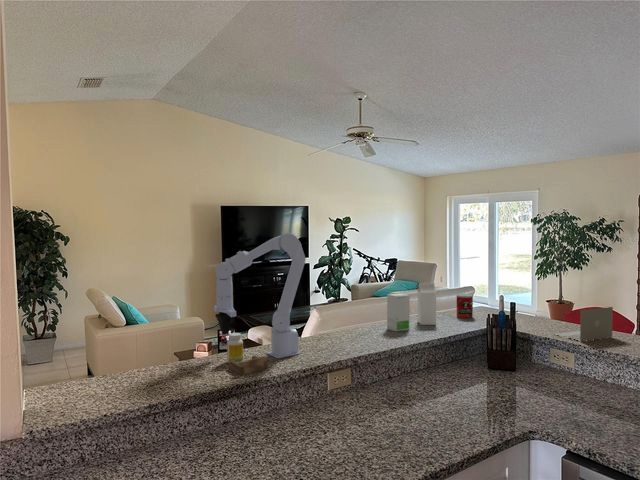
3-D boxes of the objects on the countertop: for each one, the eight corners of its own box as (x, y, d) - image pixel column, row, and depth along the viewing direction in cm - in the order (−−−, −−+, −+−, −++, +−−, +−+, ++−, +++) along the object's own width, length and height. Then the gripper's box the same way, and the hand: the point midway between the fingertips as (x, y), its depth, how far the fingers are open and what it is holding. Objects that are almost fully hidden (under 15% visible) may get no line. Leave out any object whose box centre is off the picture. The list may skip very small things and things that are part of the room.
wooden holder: (255, 363, 153) (254, 351, 153) (267, 369, 147) (266, 357, 147) (229, 368, 148) (229, 356, 148) (240, 375, 141) (240, 362, 141)
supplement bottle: (224, 361, 155) (224, 333, 155) (238, 358, 159) (238, 331, 158) (232, 365, 151) (231, 336, 151) (246, 361, 155) (245, 334, 154)
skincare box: (395, 332, 195) (395, 296, 194) (385, 329, 201) (385, 294, 200) (410, 329, 199) (410, 294, 198) (400, 326, 205) (400, 292, 204)
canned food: (457, 318, 221) (457, 296, 221) (455, 315, 229) (455, 293, 229) (473, 318, 220) (474, 296, 220) (471, 315, 228) (471, 293, 228)
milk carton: (436, 325, 207) (436, 284, 207) (420, 325, 208) (420, 284, 207) (432, 321, 215) (432, 281, 214) (417, 321, 215) (417, 282, 214)
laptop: (584, 331, 195) (585, 301, 194) (612, 338, 183) (613, 306, 182) (553, 335, 188) (554, 304, 188) (580, 343, 176) (581, 310, 176)
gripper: (206, 294, 164) (206, 331, 165) (222, 299, 152) (223, 339, 153) (224, 292, 168) (224, 328, 169) (241, 297, 157) (241, 336, 157)
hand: (225, 333), depth 161 cm, fingers closed
